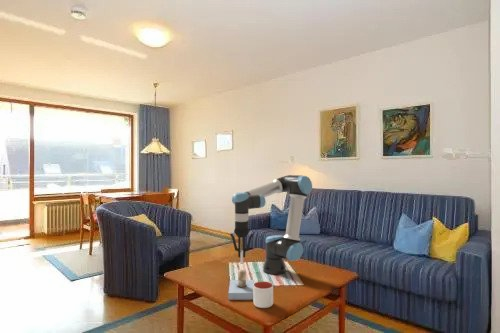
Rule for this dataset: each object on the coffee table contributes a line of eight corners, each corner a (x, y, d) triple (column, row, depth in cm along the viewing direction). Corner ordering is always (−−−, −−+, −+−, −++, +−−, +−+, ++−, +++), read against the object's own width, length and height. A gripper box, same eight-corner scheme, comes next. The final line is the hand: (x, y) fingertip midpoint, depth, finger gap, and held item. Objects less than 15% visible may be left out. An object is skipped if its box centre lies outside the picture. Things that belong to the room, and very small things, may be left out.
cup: (252, 300, 161) (252, 281, 161) (271, 299, 162) (271, 280, 162) (254, 309, 151) (254, 289, 151) (274, 308, 152) (274, 288, 152)
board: (254, 286, 181) (254, 280, 181) (255, 299, 163) (255, 292, 163) (230, 286, 181) (230, 280, 181) (228, 299, 163) (228, 293, 163)
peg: (246, 290, 174) (245, 269, 174) (246, 294, 170) (245, 272, 169) (238, 290, 174) (238, 269, 174) (237, 294, 169) (237, 272, 169)
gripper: (253, 219, 175) (253, 261, 175) (230, 219, 175) (230, 261, 175) (253, 221, 168) (253, 265, 168) (229, 221, 168) (229, 265, 168)
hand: (241, 263), depth 171 cm, fingers closed
